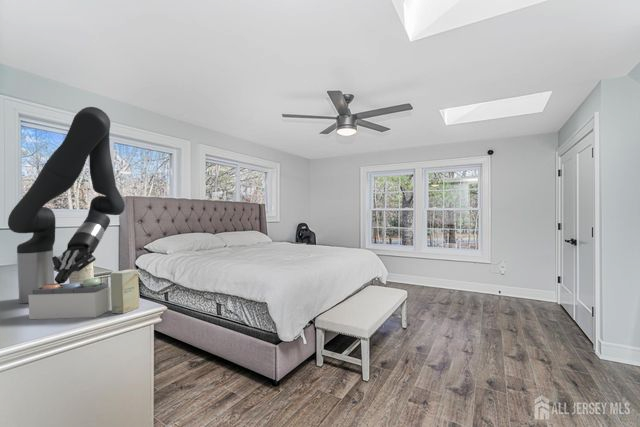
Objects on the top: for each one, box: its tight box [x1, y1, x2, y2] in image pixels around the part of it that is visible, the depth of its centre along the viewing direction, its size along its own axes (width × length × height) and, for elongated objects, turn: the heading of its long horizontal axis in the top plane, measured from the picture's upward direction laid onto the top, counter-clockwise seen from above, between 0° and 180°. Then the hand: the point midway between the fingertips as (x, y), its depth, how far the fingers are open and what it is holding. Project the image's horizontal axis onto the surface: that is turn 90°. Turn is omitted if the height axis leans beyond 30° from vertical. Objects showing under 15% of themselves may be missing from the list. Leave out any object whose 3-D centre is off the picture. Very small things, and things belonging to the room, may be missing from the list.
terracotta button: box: [42, 282, 60, 289], centre depth 88 cm, size 4×4×2 cm
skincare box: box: [109, 268, 140, 314], centre depth 90 cm, size 6×4×12 cm
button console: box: [28, 282, 112, 320], centre depth 88 cm, size 19×7×8 cm, turn 91°
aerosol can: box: [68, 252, 95, 284], centre depth 105 cm, size 7×7×20 cm
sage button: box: [83, 277, 101, 288], centre depth 88 cm, size 4×4×2 cm
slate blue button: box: [63, 282, 80, 288], centre depth 88 cm, size 4×4×2 cm
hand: (59, 282), depth 89 cm, fingers closed
